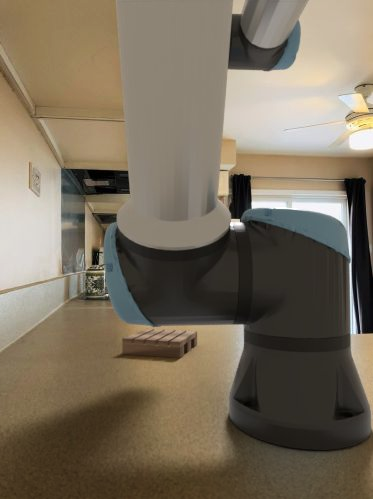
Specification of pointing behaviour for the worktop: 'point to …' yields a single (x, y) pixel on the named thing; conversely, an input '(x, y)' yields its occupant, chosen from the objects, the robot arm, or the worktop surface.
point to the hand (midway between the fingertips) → (176, 256)
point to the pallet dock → (159, 342)
